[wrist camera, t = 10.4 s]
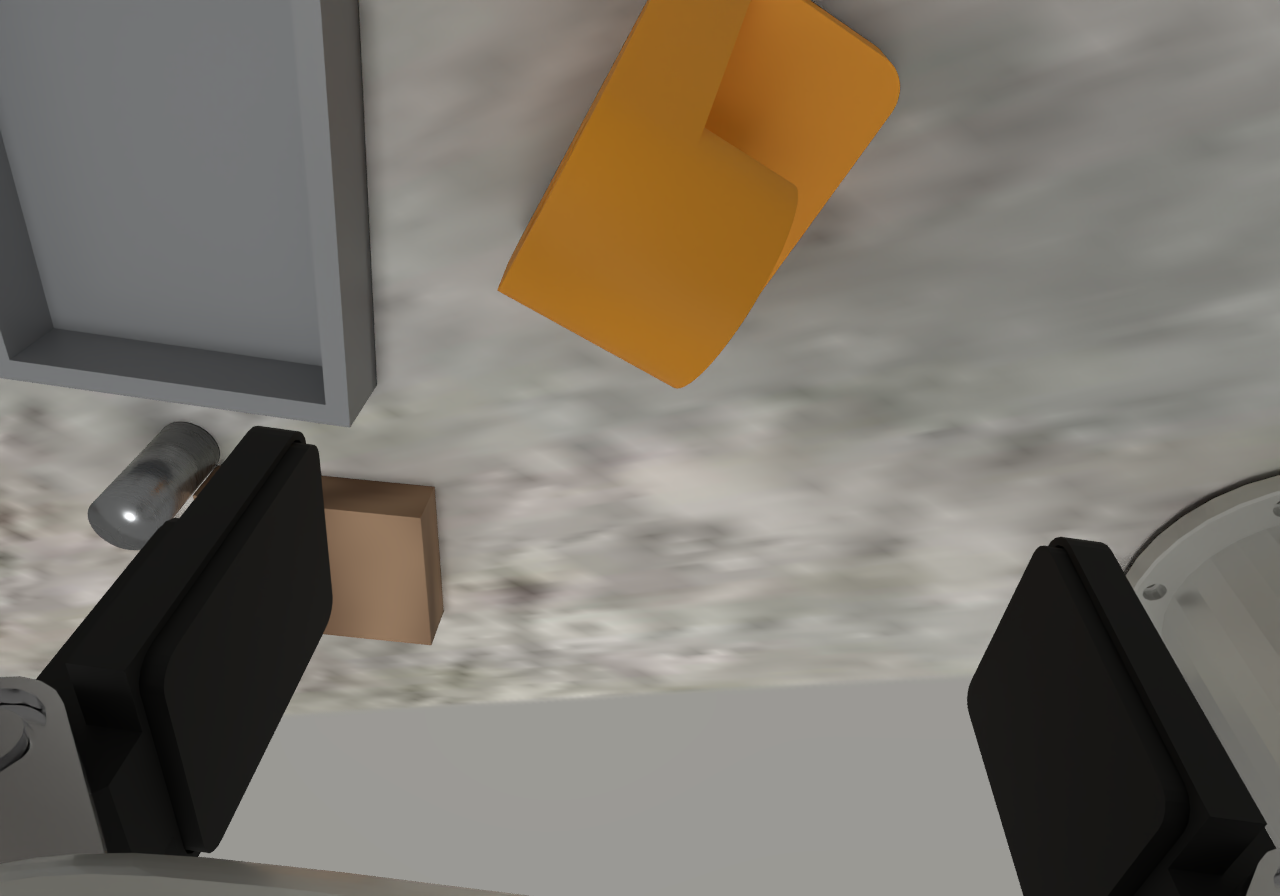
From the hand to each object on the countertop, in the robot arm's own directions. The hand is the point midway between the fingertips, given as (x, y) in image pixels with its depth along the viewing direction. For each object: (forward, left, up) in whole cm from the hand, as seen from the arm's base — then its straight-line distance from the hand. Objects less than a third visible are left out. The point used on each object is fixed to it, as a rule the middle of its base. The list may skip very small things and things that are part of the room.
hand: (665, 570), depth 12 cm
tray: (+17, +2, -20) cm, 26 cm away
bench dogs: (+18, +17, -20) cm, 32 cm away
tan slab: (+13, +19, -20) cm, 30 cm away
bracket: (0, 0, -20) cm, 20 cm away
